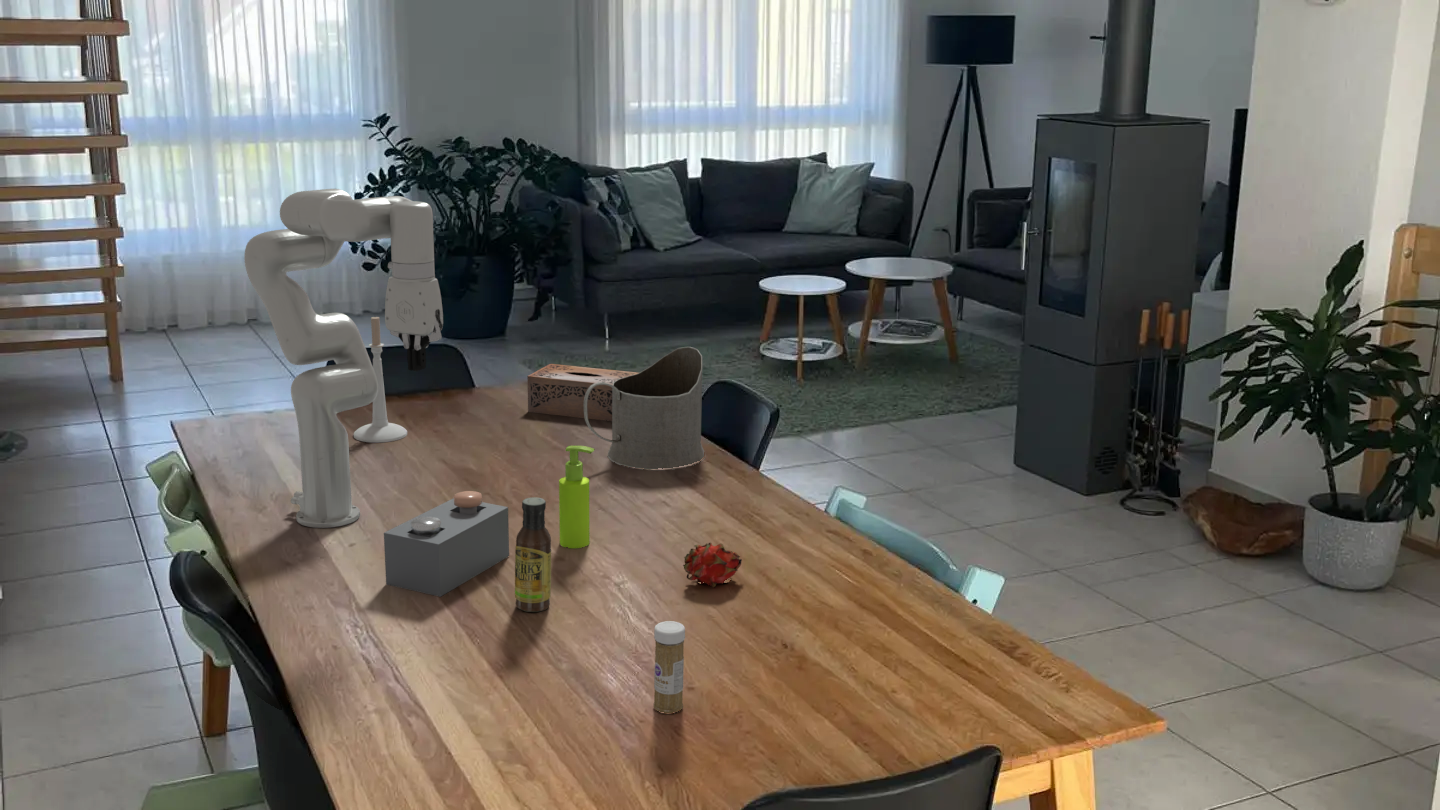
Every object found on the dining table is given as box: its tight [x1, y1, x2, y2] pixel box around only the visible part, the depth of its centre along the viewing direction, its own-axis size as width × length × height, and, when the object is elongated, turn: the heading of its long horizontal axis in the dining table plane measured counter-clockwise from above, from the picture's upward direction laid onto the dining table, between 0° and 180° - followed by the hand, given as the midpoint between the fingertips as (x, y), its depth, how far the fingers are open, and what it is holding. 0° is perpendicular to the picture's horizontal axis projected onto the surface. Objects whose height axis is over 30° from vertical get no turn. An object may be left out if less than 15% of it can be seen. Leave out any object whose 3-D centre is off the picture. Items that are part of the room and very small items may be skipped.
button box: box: [383, 497, 510, 597], centre depth 256 cm, size 12×22×10 cm, turn 155°
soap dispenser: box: [558, 445, 595, 549], centre depth 269 cm, size 6×7×20 cm
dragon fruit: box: [682, 542, 743, 588], centre depth 254 cm, size 8×8×12 cm
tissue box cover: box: [527, 363, 639, 422], centre depth 364 cm, size 26×14×10 cm, turn 73°
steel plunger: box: [411, 517, 441, 537], centre depth 250 cm, size 5×5×8 cm
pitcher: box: [584, 346, 705, 469], centre depth 323 cm, size 23×32×25 cm
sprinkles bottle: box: [653, 620, 686, 713], centre depth 206 cm, size 5×5×13 cm
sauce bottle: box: [514, 496, 552, 613], centre depth 240 cm, size 6×6×20 cm
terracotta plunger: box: [453, 490, 483, 515], centre depth 261 cm, size 5×5×8 cm
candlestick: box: [353, 316, 408, 444], centre depth 335 cm, size 13×13×30 cm
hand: (417, 369), depth 254 cm, fingers closed
